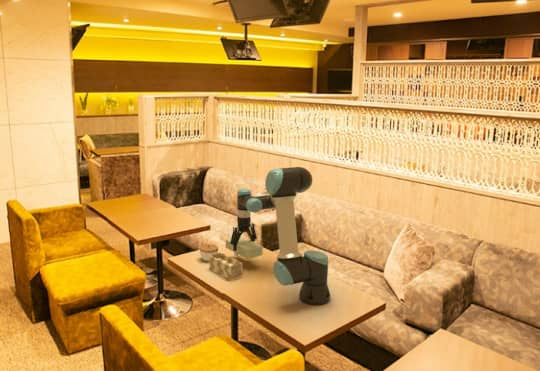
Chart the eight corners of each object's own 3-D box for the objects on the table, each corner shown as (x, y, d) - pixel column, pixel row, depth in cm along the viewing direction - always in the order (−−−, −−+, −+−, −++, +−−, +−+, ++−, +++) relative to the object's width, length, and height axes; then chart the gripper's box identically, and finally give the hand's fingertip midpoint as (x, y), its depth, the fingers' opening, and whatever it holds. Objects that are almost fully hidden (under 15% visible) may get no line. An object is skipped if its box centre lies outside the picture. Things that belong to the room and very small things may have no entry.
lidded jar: (210, 264, 263) (210, 249, 261) (196, 260, 268) (195, 245, 266) (222, 258, 272) (221, 243, 270) (207, 255, 277) (207, 240, 275)
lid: (262, 255, 259) (262, 246, 258) (248, 259, 253) (248, 250, 251) (239, 244, 275) (239, 236, 274) (225, 247, 269) (225, 239, 268)
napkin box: (242, 277, 247) (242, 263, 245) (230, 281, 242) (230, 266, 240) (221, 265, 262) (221, 252, 260) (209, 269, 257) (209, 255, 255)
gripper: (255, 211, 269) (255, 247, 274) (223, 218, 255) (223, 256, 260) (263, 214, 263) (263, 251, 268) (231, 221, 249) (231, 260, 254)
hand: (243, 253), depth 264 cm, fingers closed on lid, 10 cm apart
